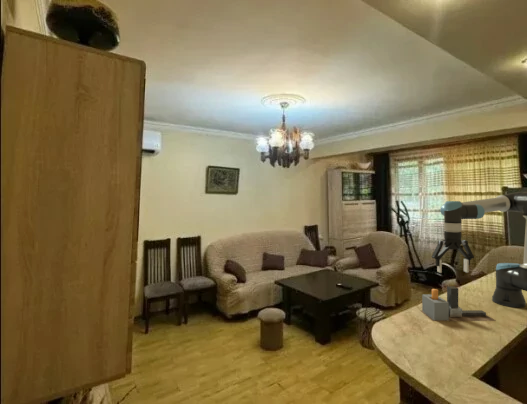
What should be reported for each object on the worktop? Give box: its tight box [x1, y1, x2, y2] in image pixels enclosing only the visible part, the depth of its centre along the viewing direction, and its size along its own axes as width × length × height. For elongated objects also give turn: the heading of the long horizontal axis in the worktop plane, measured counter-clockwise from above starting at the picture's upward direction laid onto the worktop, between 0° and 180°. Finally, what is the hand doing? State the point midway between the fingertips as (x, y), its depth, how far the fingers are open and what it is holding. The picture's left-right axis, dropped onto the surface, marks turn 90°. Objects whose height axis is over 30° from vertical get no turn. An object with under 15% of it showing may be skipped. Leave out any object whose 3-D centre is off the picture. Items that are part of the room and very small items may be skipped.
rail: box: [462, 309, 487, 317], centre depth 154 cm, size 22×3×2 cm, turn 88°
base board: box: [420, 310, 497, 322], centre depth 155 cm, size 31×13×1 cm, turn 88°
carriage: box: [446, 285, 463, 317], centre depth 154 cm, size 6×6×14 cm
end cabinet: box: [421, 293, 449, 320], centre depth 155 cm, size 7×12×9 cm, turn 178°
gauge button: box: [431, 288, 439, 300], centre depth 155 cm, size 3×3×8 cm
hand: (452, 272), depth 154 cm, fingers open, 13 cm apart
